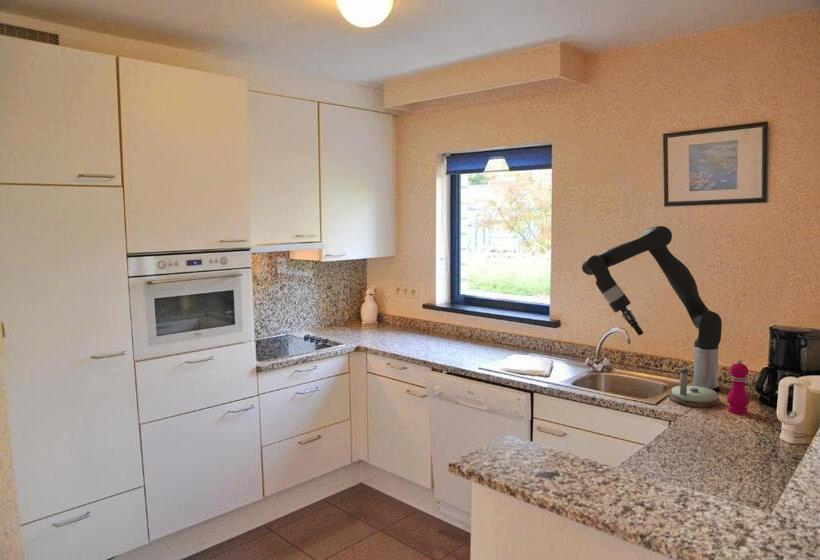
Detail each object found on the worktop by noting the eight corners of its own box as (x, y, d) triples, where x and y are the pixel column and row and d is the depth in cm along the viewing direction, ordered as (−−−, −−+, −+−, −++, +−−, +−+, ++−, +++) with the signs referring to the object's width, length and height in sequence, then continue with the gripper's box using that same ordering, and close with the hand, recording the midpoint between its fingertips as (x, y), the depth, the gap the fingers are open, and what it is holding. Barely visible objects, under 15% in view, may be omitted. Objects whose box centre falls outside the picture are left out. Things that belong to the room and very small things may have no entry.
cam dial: (665, 390, 242) (666, 361, 240) (707, 390, 240) (708, 361, 239) (680, 402, 225) (680, 372, 224) (724, 402, 224) (725, 372, 223)
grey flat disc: (662, 393, 243) (663, 389, 242) (708, 394, 241) (708, 390, 241) (678, 407, 225) (678, 403, 225) (727, 408, 223) (727, 403, 223)
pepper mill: (745, 409, 221) (747, 357, 219) (751, 415, 214) (753, 362, 212) (724, 408, 223) (726, 356, 221) (729, 414, 216) (731, 361, 214)
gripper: (608, 302, 246) (633, 337, 243) (607, 304, 233) (633, 341, 230) (624, 292, 243) (649, 327, 240) (623, 294, 231) (650, 331, 228)
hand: (641, 334), depth 235 cm, fingers closed
